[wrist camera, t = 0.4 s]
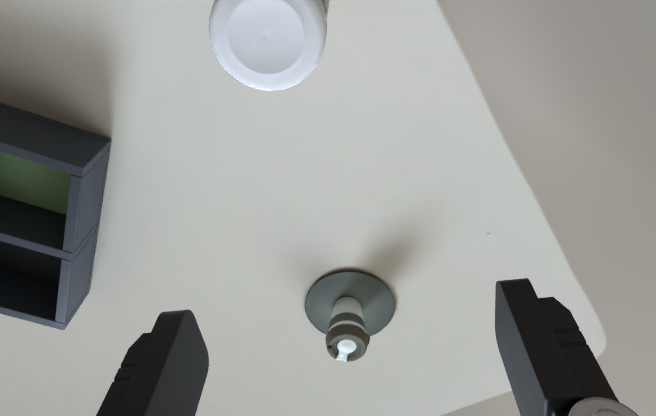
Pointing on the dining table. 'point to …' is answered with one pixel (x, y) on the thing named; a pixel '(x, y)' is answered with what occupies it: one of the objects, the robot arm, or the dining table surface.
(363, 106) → the dining table surface
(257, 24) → the sprinkles bottle
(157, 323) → the robot arm
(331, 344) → the coffee cup
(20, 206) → the divided storage tray
